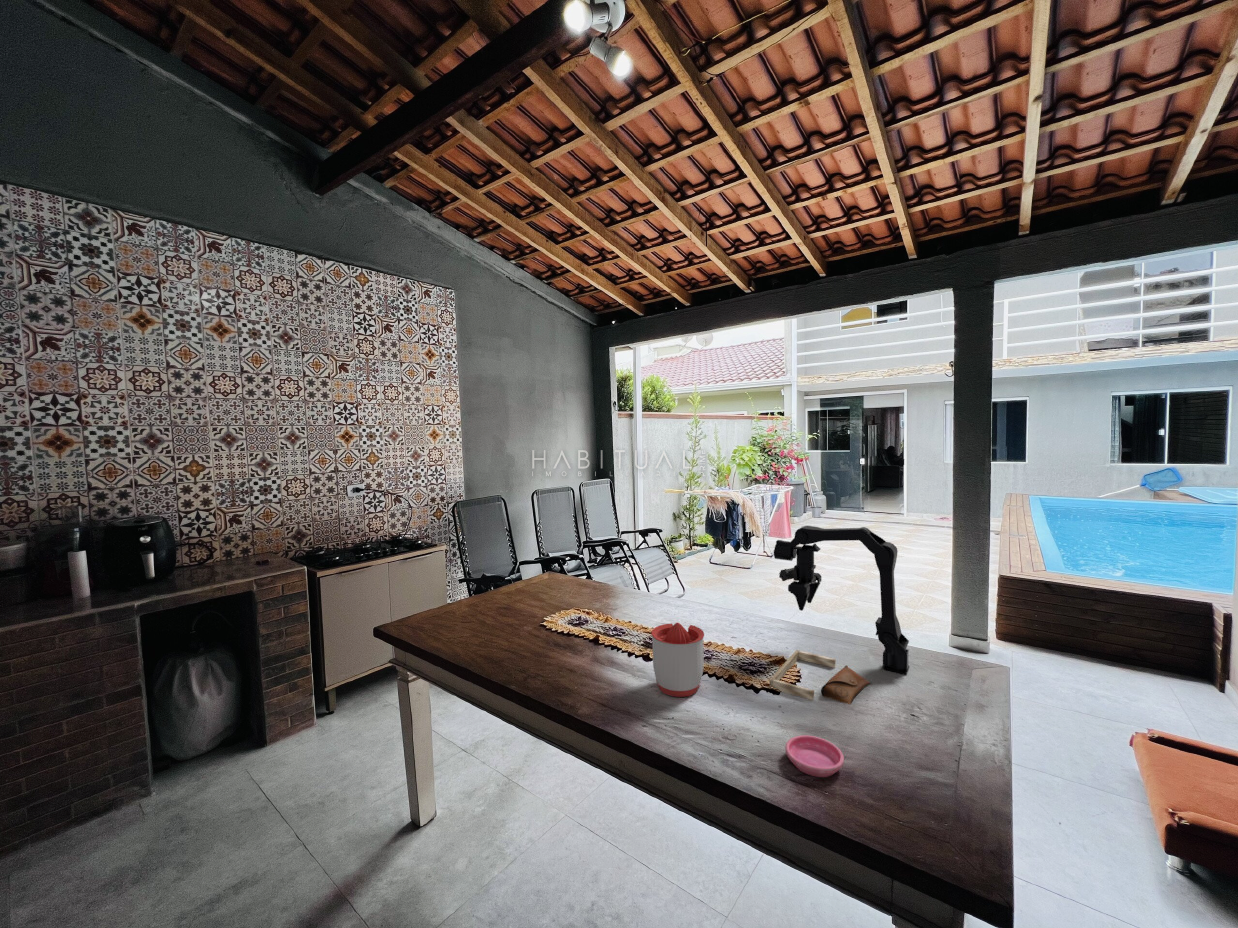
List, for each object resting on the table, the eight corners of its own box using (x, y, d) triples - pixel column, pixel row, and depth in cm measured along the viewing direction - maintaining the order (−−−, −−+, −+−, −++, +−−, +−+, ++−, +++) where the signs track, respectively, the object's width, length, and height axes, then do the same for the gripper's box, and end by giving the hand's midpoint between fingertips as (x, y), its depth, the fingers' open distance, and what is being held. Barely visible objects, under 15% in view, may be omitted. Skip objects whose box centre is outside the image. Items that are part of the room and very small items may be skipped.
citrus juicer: (708, 675, 157) (707, 613, 156) (701, 704, 141) (701, 634, 140) (658, 670, 162) (657, 609, 161) (647, 698, 145) (646, 630, 144)
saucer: (828, 745, 121) (828, 733, 121) (854, 781, 109) (854, 767, 109) (777, 748, 121) (777, 735, 121) (797, 783, 109) (797, 769, 109)
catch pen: (835, 666, 162) (835, 659, 162) (812, 700, 142) (812, 691, 142) (796, 657, 169) (796, 649, 169) (769, 687, 149) (769, 679, 149)
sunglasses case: (851, 705, 139) (839, 681, 141) (829, 710, 143) (817, 686, 145) (872, 681, 152) (860, 659, 154) (851, 686, 156) (840, 665, 158)
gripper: (790, 554, 187) (790, 595, 188) (773, 565, 172) (773, 609, 173) (821, 558, 181) (821, 600, 182) (806, 569, 166) (806, 616, 167)
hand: (805, 606), depth 176 cm, fingers open, 9 cm apart
